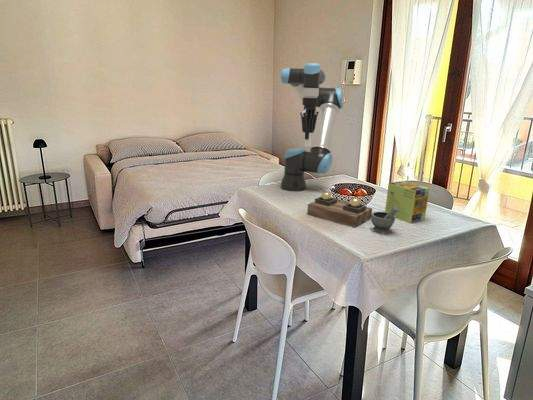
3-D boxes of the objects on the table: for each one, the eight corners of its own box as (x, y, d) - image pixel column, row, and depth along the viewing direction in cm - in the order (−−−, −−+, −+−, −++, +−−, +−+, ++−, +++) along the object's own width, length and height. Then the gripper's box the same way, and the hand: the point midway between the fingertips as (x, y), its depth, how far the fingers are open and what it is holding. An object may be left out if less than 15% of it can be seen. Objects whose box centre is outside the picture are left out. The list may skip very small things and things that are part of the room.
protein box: (411, 223, 171) (416, 190, 167) (384, 213, 183) (388, 182, 179) (425, 219, 177) (430, 187, 172) (398, 210, 189) (402, 180, 184)
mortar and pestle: (365, 229, 162) (368, 203, 159) (377, 224, 169) (380, 199, 165) (389, 237, 155) (392, 209, 151) (400, 232, 161) (404, 205, 157)
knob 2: (352, 207, 175) (353, 197, 173) (361, 209, 172) (362, 199, 170) (347, 209, 171) (348, 199, 170) (356, 211, 169) (357, 201, 167)
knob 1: (324, 200, 184) (325, 190, 182) (332, 202, 181) (333, 192, 179) (319, 202, 180) (320, 192, 179) (327, 204, 178) (328, 194, 176)
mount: (324, 206, 191) (325, 193, 189) (371, 218, 176) (372, 204, 174) (307, 214, 179) (308, 200, 177) (355, 227, 164) (356, 212, 162)
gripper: (311, 96, 190) (308, 143, 197) (296, 97, 180) (294, 146, 187) (324, 97, 185) (320, 145, 192) (309, 97, 176) (306, 148, 183)
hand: (307, 145), depth 190 cm, fingers closed
